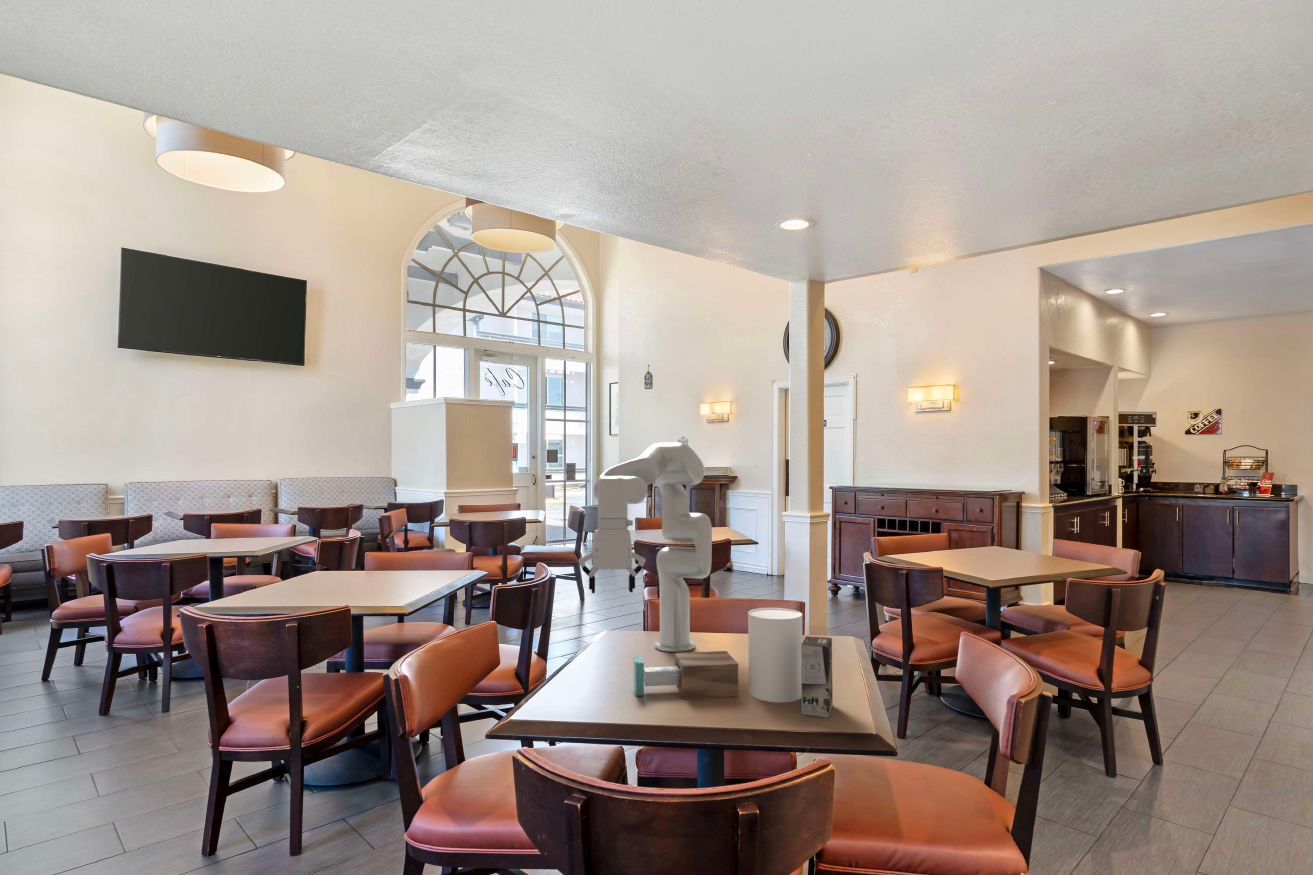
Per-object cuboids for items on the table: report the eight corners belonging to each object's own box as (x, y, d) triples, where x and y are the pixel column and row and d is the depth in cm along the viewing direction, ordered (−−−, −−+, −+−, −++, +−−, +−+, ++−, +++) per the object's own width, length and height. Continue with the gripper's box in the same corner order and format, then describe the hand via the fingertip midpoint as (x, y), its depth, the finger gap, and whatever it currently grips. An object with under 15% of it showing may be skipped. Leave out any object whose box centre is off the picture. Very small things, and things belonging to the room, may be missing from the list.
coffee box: (829, 718, 156) (828, 646, 157) (800, 714, 158) (800, 644, 159) (833, 705, 165) (832, 637, 165) (806, 702, 167) (805, 634, 167)
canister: (811, 700, 168) (810, 617, 169) (758, 703, 166) (757, 620, 166) (791, 683, 181) (790, 606, 182) (742, 686, 179) (741, 608, 180)
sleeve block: (674, 683, 181) (674, 652, 181) (726, 681, 183) (726, 650, 183) (682, 698, 169) (682, 666, 169) (738, 696, 171) (738, 663, 171)
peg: (633, 688, 176) (633, 657, 176) (687, 686, 178) (687, 654, 178) (635, 695, 171) (635, 662, 171) (691, 692, 173) (691, 660, 173)
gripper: (643, 523, 182) (643, 588, 181) (578, 524, 179) (577, 590, 178) (647, 525, 174) (647, 593, 173) (579, 526, 172) (578, 595, 171)
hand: (612, 591), depth 176 cm, fingers open, 9 cm apart
